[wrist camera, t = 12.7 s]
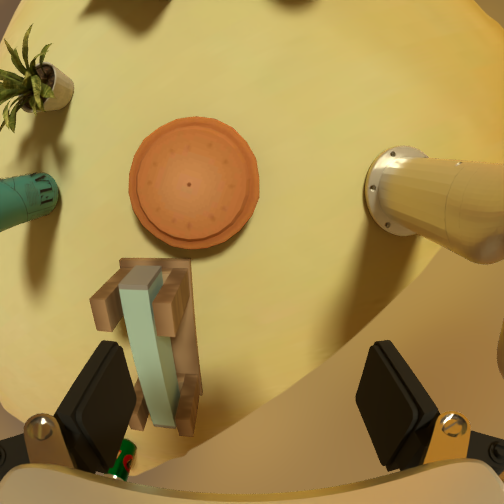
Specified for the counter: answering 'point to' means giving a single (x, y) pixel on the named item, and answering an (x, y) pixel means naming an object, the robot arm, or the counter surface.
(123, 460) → the soda can
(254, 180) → the pie
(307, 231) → the counter surface
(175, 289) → the post stand
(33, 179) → the beverage bottle
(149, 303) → the rail
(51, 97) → the house plant
